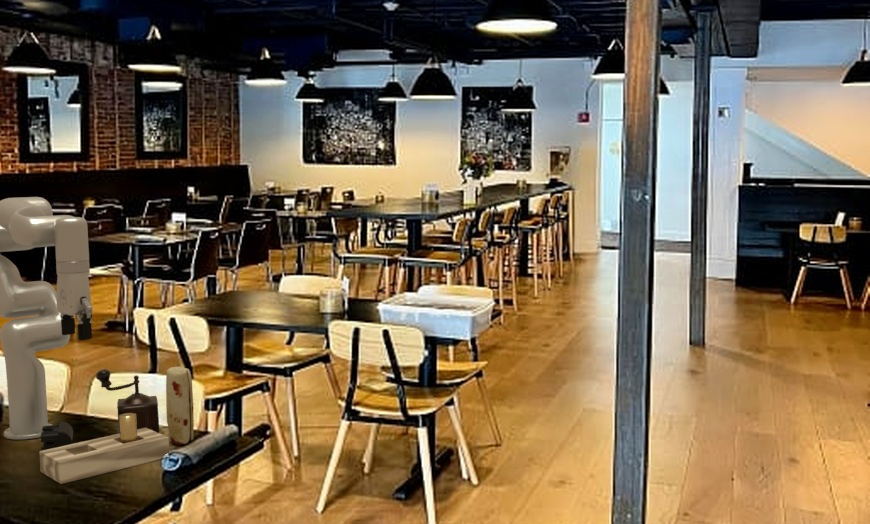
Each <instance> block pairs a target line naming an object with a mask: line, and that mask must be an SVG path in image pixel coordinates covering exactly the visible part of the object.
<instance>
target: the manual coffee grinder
mask: <svg viewBox="0 0 870 524" xmlns="http://www.w3.org/2000/svg"><path fill="white" fill-rule="evenodd" d="M110 377H111V371H110V370H108V369H105V368H104V369H100V370H99V371H98V372H97V373H96V374H95V379H96V380H98V381H99V383H100V384H101V385H100V387H101V388H105V390H107V391H111V392H114V391H119V390H123V389H128V388H130V387H133V386H134V390H135V392H134V393H132V394H130V395H129V396H127V397H126V398H118V400H117V405H116V409H117V424H118V425H117V427H118V429H117V434H120V422H119V415H121V414H125V413H135V414H136V419H137V430H138V429H142V428H148V429H150V430H153V431H155V432H157V433H160V420H159V403H158V398H157V397H158V396H157V395H151V396H150V395H147V394H144V393H142V392H140V390H139V389H140V388H139V387H140V386H139V383H140V380H139V378H140V377H139V375H134V376H133V382H131V383H126V384H124V385H118V386H113V387H111V386H112V385H113V384H112V382H111V380H110Z"/></svg>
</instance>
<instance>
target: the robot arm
mask: <svg viewBox="0 0 870 524" xmlns="http://www.w3.org/2000/svg"><path fill="white" fill-rule="evenodd" d="M53 214H54V213H53V208H52V205H51V204H50V202H49V201H48V200H47V199H45V198H44V197H39V196H28V197H27V196H25V197H23V196H22V197H21V196H20V197H7V198H4V199H1V200H0V317H1V318H4V319H8V321H7V322H5V323H4V324H3V325H2V327H1V328H0V344H1V348H2V352H3V355H4V357H3V358H4V361H5V373H6V374H5V375H6V387H7V399H8V400H7V401H8V404H7V405H8V417H9V427H8V428H6V429H5V430H4V431H3V437H4V438H5V439H8V440H30V439H37V438H41V432H43V431H42V428H43V426H50V425H53V424H52V423H49V418H48V415H49V414H48V401H47V383H46V382H47V381H46V369H45V366H44V364H43V362H42V361H41V360H40V359H39V358H38V357H37V356H36V353H38V352H43V351H49V350H55V349H59V348H60V349H61V348H63V347H65V346H66V345H68V343H69V341H70V339H71V335H75V334H76V323H75V322H76V321H75V317H74V316H76V318H77V321H78V323H77V339H78V341H87V340H92V339H93V332H92V331H93V330H92V322H93V320H92V318H93V309H94V308H93V306H92V299H91V288H90V286H91V285H90V280H89V275H88V274H90V271H91V270H90V269H91V267H90V251H89V250H90V249H89V235H88V234H89V233H88V231H89V230H88V221H87V220H86V219H85V218H83V217H80V216H73V215H69V214H61V215H60V214H59V215H53ZM42 247H43V248H44V247H55V249H54V250H55V260H56V261H55V264H56V266H55V269H56V275H57V277H56V279H57V280H56V289H55V287H54V286H53V285H52V284H51V283H50V282H47V281H44V280H35V281H25V280H23V279H22V277H21V274H20V271H19V268H18V267H17V266H16V265H15V264H14V263H13V262H12V261H11V260H10V259H9V258H7V256H4V255H2V253H3V252H16V251H28V250H29V251H30V250H32V249H35V248H42ZM9 319H10V320H9Z"/></svg>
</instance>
